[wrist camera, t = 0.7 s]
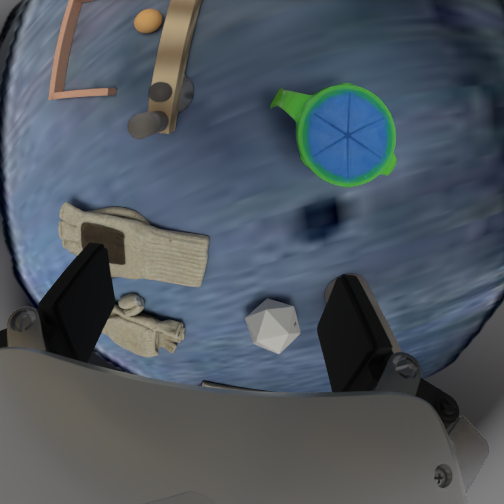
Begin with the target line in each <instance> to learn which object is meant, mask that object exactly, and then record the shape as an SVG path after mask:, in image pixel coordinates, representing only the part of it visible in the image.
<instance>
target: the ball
mask: <svg viewBox="0 0 504 504" xmlns="http://www.w3.org/2000/svg"><path fill="white" fill-rule="evenodd" d="M161 23H162V15H161V13H160V12H159V11H157V10H155V9H146V10H143V11H141V12H140V13H139V14H138V15H137V16H136V18H135V20H134V26H135V28H136V30H138V31H139V32H141V33H151V32H153V31H155V30H157V29H158V28H159V27H160V25H161Z"/></svg>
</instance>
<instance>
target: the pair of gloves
mask: <svg viewBox="0 0 504 504" xmlns="http://www.w3.org/2000/svg"><path fill="white" fill-rule="evenodd" d="M59 216H60V218H61V219H62V220H60V221H59V227H58V230H59V237H60V238H61V239H62V245H63V247H64V248H65V249H67V250H68V251H69V252H70V253H73V254H75V255H77V256H78V255H79V253H80V252H81V251H82V250H83V249H84V248H85V247H86V246H87V245H88V243H90V242H93V243H100V244H103V245H104V248H107V250H108V257H109V264H110V272H111V278H112V277H113V278H114V277H123V278H129V279H141V278H144V279H148V280H158V281H163V282H168V283H174V284H178V285H184V286H191V287H200V286H201V285H202V281H203V276H204V272H205V270H206V266H207V258H208V245H209V237H208V236H205V235H201V234H193V233H184V232H177V231H169V230H164V229H159V228H156V227H154V226H150V224H149V222H148V221H147V220H146V219H145V218H144V217H143V216H142V215H140V214H139V213H138V212H136V211H134V210H131V209H127V208H123V207H109V208H103V209H97V210H93V211H87V212H85V211H82V210H80V209H78V208H76V207H75V206H73V205H72V204H69V203H68V202H64V204H63V205H62V207H61V210H60V214H59ZM118 303H119V306H118V305H115V306H114V309H113V311H112V313H111V315H110V316H109V318H108V320H107V322H106V324H105V326H104V328H103V331H102V332H103V333H104V334H105V335H108V336H109V337H110V338H111V340H113V341H114V342H115V343H116V344H118V345H120V346H121V347H123V348H125V349H126V350H129V351H131V352H133V353H135V354H138V355H140V356H144V357H153V356H157V355H158V353H159V352H158V348H160V347H161V346H162V347H163V348H165V349H166V350H167V351H169V352H170V353H174V351H175V349H176V347H177V345H176V344H175V343H174V342H178V343H181V340H184V332H185V328H183V323H181V322H178V321H174V320H165V321H159V320H158V319H156V318H155V317H154V316H151V315H148V314H144V313H141V311H142V310H143V308H144V300H143V298H141V297H139V296H138V295H137V294H127V295H125V296H122V297H121V298H120V300H119V302H118ZM172 341H173V342H172Z"/></svg>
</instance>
